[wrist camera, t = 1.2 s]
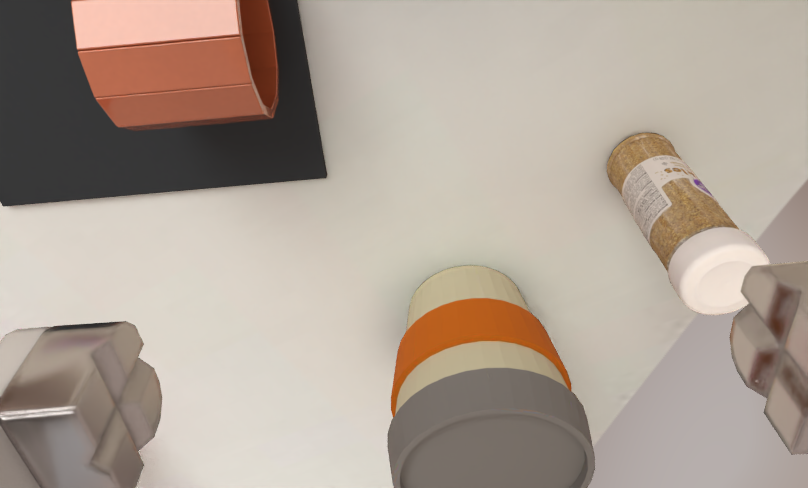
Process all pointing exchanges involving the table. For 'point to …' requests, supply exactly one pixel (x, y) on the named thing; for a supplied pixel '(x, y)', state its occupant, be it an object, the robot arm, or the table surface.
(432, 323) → the reusable coffee cup
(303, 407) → the table surface
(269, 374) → the table surface
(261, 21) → the cup
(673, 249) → the spice jar
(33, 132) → the mat
